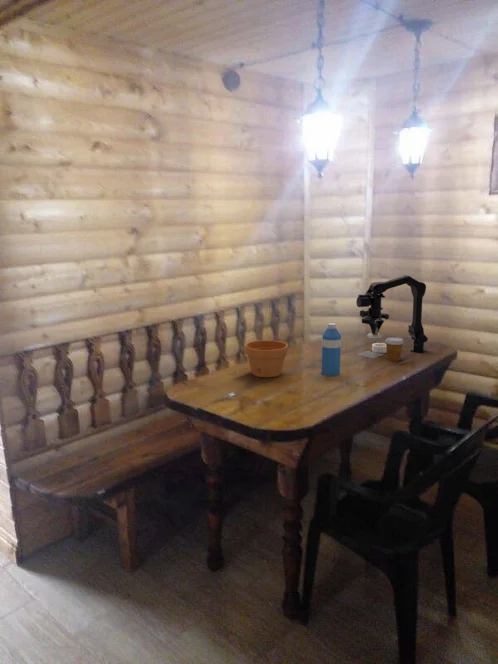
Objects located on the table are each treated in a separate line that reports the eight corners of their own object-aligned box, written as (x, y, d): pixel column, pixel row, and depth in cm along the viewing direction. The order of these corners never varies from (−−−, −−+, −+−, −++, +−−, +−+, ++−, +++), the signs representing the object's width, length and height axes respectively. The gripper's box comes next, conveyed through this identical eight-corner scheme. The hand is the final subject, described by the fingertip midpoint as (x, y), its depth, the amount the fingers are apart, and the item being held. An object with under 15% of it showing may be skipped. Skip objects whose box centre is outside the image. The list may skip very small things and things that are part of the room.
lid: (372, 334, 314) (372, 325, 313) (385, 336, 308) (385, 327, 307) (364, 337, 308) (365, 327, 307) (377, 339, 303) (377, 329, 302)
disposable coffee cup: (401, 358, 302) (402, 337, 299) (404, 363, 293) (405, 341, 290) (383, 358, 303) (384, 336, 300) (385, 363, 294) (386, 341, 291)
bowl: (377, 348, 322) (377, 342, 321) (391, 351, 316) (392, 344, 315) (368, 351, 316) (369, 345, 315) (382, 354, 310) (383, 347, 309)
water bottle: (342, 371, 279) (343, 322, 274) (337, 376, 271) (338, 326, 266) (324, 369, 283) (325, 321, 278) (318, 374, 275) (319, 325, 269)
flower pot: (253, 365, 291) (253, 338, 288) (292, 369, 284) (292, 341, 281) (239, 377, 272) (238, 348, 268) (280, 381, 265) (280, 351, 261)
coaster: (367, 352, 315) (367, 350, 315) (384, 355, 308) (384, 354, 308) (356, 355, 308) (356, 354, 308) (373, 359, 300) (373, 358, 300)
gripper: (372, 301, 316) (371, 328, 320) (353, 307, 303) (353, 334, 307) (389, 304, 309) (388, 331, 312) (371, 309, 296) (370, 337, 299)
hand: (375, 333), depth 308 cm, fingers closed on lid, 3 cm apart
